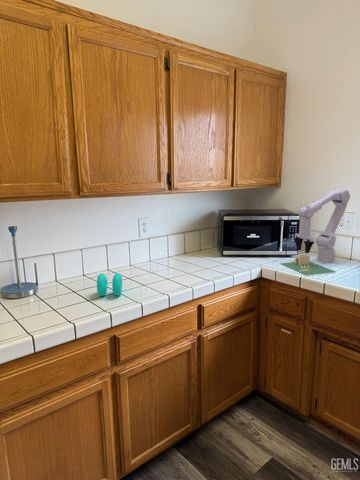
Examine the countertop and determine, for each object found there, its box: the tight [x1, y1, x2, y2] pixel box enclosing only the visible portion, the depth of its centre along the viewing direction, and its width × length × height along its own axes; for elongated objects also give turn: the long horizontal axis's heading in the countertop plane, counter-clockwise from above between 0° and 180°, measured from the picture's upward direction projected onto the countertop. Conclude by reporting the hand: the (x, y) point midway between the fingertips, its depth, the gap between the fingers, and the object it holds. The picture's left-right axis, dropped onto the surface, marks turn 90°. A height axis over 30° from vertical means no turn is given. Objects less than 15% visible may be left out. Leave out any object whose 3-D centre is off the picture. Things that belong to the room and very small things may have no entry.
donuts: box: [96, 272, 123, 297], centre depth 149 cm, size 10×10×10 cm
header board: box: [279, 261, 337, 277], centre depth 190 cm, size 20×24×3 cm
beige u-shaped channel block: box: [294, 253, 311, 265], centre depth 196 cm, size 7×4×5 cm, turn 107°
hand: (302, 251), depth 195 cm, fingers open, 7 cm apart
